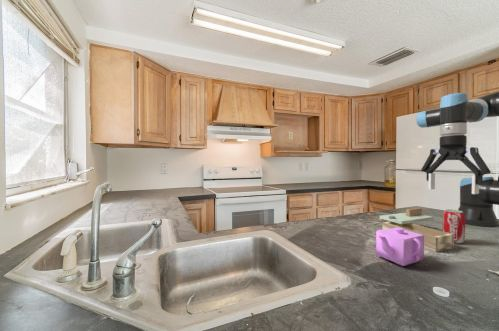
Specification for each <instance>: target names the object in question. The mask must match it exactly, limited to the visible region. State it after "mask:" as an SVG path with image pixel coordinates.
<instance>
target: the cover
mask: <svg viewBox="0 0 499 331" xmlns="http://www.w3.org/2000/svg"><path fill="white" fill-rule="evenodd" d="M422 213H423V211H422V208H421V207H414V208H406V209H405V212H400V213H393V214H383V215H382V214H381V215H380V216H379V219H380V220H385V221H387V222H390V221H391V222H395V223H399V224H407V223H411V224H415V223H420V222H427V221H432V220H434V216H430V215H425V214H422Z"/></svg>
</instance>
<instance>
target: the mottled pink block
mask: <svg viewBox="0 0 499 331" xmlns="http://www.w3.org/2000/svg"><path fill="white" fill-rule="evenodd" d="M375 234H376V235H375V238H376V239H375V240H376V241H375V255H376V256H378V257H380V258H384V259H385V260H389V261H390V262H393V263H395V264H397V265H399V266H402V267H406V266H408V265H412V264H416V263H418V262H421V261H424V260H425V248H424V235H422V234H418V233H414V232H411V231H407V230H404V229H403V228H391V229H386V230H382V229H378V230H376V232H375Z"/></svg>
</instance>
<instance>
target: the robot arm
mask: <svg viewBox="0 0 499 331" xmlns="http://www.w3.org/2000/svg"><path fill="white" fill-rule="evenodd" d="M467 94H468V93H465V92H455V93H450V94H447V95H446V94H445V95H444V96H442V97H441V98H440V102H439V104H440V105H439V108H434V109H429V110H424V111H421V112H418V113H417V114H416V118H415V120H416V121H415V122H416V124H417V126H418V127H419V128H422V129H423V128H427V129H428V128H431V127H439V149H437V148H431V149H430V150H429V151H430V152H429V155H428V156H427V158H426V160H425V162H424V163H423V166H422V168H421V172H424V173H426V182H428V190H435V189H436V173H434V172H435V171H436V170H437V169H438V168H439V167H441V165H442V164H443V163H444V162H445V161H460V162H461V163H463V164H464V166H466V168H468V169H469V170H470V172H472V173H473V174H474V175H473V174H472V175H471V177H464V178H461V179H460V181H459V182H460V183H459V207H458V209H457V210H459V211H462V212H463V214H464V215H465V225H471V226H480V227H489V228H491V227H492V228H493V227H499V220H498V218H497V216H496V213H495V211H494V205H497V206H499V175H497V179H495V178H494V177H493V176H484V175H488V174H491V172H492V170H490V169H489V167H488V165H487V163H486V162H485V161H484V159H483V158H482V156H481V154H480V153H479V148H478V147H475V146H474V147H473V146H472V147H468V148H467V141H468V140H467V135H466V134H468V128H467V127H468V124H467V123H477V122H478V123H479V122H480V121H483V120H484V119H485V118H494V117H495V118H496V117H499V91H496V92H493V93H489V94H485V95H483V96H480V97H477V98H473V99H470V100H469V98H468V95H467ZM467 153H468V154H469V155H470V156H471V158H472V160H474V162H475V163H473V161H471V160H470V158H469V157H468V156H467V155H466V154H467ZM438 154H439V155H440V156H438ZM437 156H438V157H437ZM436 158H437V159H436ZM435 159H436V161H435ZM434 161H435V162H434ZM475 164H476V165H477V166H476V165H475Z"/></svg>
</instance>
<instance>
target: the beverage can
mask: <svg viewBox="0 0 499 331" xmlns="http://www.w3.org/2000/svg"><path fill="white" fill-rule="evenodd" d="M442 218H443V219H442V224H443V226H442V231H443V232H447V233H451V234H454V244H462V243H466V223H465V215H464V214H463V212H462V211H459V210H458V209H445V211H444V212H443V216H442Z"/></svg>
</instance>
